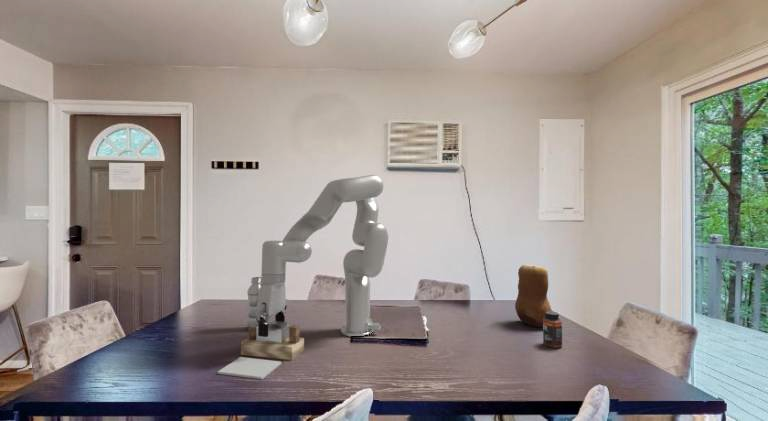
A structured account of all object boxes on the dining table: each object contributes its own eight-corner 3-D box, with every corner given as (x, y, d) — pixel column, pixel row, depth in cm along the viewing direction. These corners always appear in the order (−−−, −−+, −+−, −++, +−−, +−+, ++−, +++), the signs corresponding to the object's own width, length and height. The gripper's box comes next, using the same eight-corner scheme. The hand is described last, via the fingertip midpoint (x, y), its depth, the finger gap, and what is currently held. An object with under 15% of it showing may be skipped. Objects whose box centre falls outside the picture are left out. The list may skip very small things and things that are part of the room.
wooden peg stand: (303, 350, 111) (304, 322, 111) (292, 360, 103) (292, 330, 103) (255, 345, 115) (256, 318, 115) (240, 354, 107) (241, 326, 107)
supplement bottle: (564, 345, 116) (564, 312, 116) (559, 350, 111) (559, 316, 112) (546, 340, 120) (546, 309, 120) (540, 345, 116) (540, 312, 116)
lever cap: (289, 338, 110) (289, 321, 110) (281, 343, 105) (281, 325, 105) (265, 336, 112) (265, 319, 112) (256, 341, 107) (256, 323, 107)
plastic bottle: (259, 332, 128) (259, 279, 128) (243, 330, 129) (244, 279, 129) (268, 326, 134) (268, 276, 134) (253, 325, 135) (253, 276, 136)
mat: (281, 363, 100) (281, 361, 100) (261, 379, 91) (261, 377, 91) (240, 358, 103) (240, 357, 103) (217, 373, 94) (217, 371, 94)
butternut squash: (553, 323, 140) (553, 263, 140) (549, 332, 128) (549, 267, 129) (518, 318, 147) (518, 261, 147) (511, 326, 136) (511, 264, 136)
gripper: (277, 273, 118) (275, 322, 118) (246, 282, 101) (245, 339, 101) (296, 275, 117) (295, 324, 116) (268, 284, 100) (267, 341, 99)
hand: (271, 331), depth 109 cm, fingers open, 9 cm apart
